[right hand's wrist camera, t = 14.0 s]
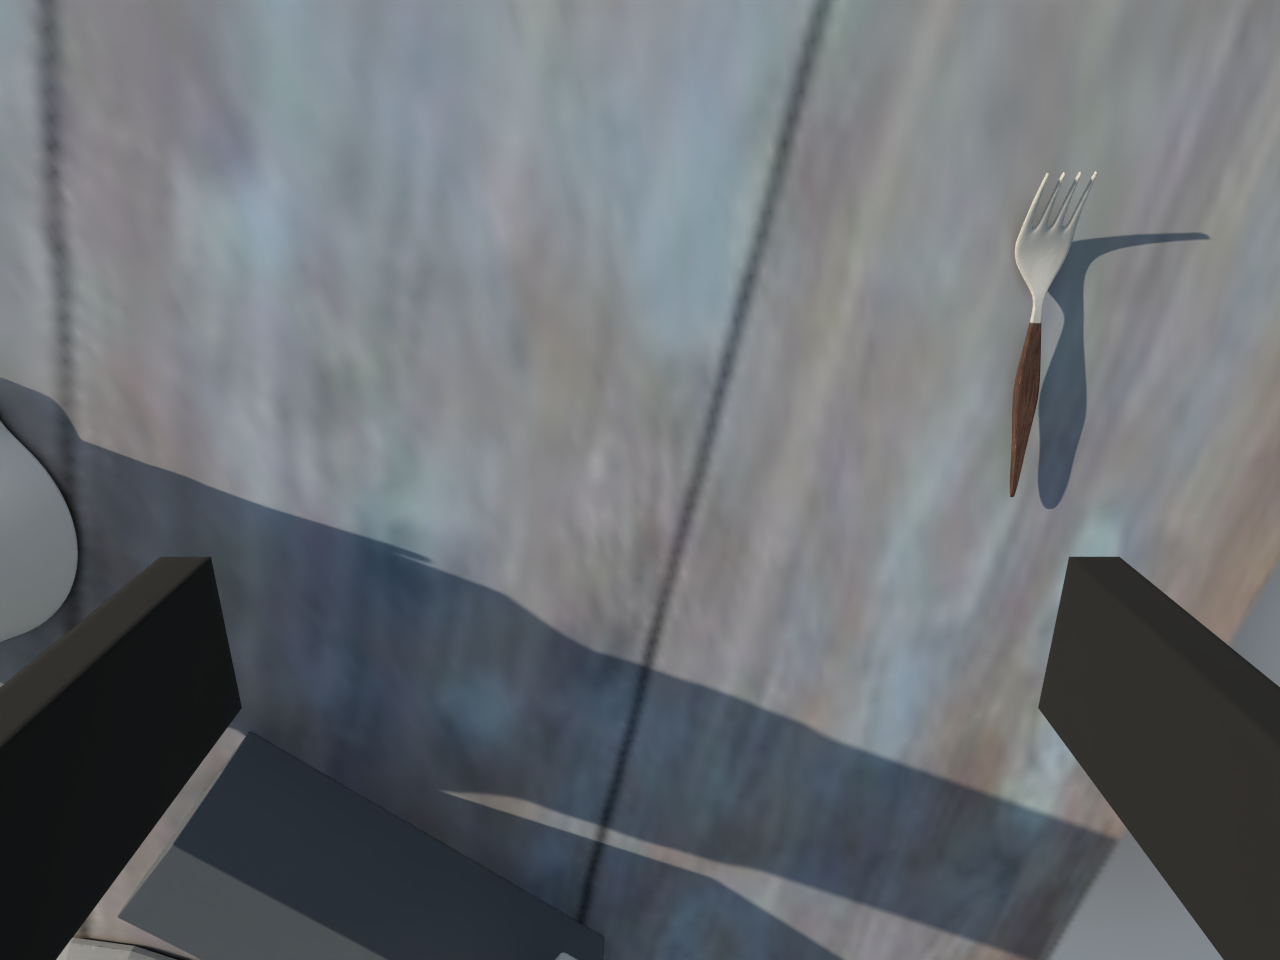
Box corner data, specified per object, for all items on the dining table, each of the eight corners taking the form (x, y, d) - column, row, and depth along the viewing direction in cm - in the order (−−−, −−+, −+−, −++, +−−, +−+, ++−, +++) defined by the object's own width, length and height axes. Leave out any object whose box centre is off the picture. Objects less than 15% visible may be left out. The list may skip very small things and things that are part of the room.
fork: (982, 493, 44) (998, 508, 42) (1023, 172, 38) (1042, 173, 36) (1032, 492, 44) (1049, 507, 42) (1079, 170, 38) (1102, 171, 36)
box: (200, 796, 51) (116, 917, 43) (250, 730, 49) (171, 844, 41) (549, 988, 57) (534, 1128, 49) (604, 936, 55) (598, 1072, 47)
